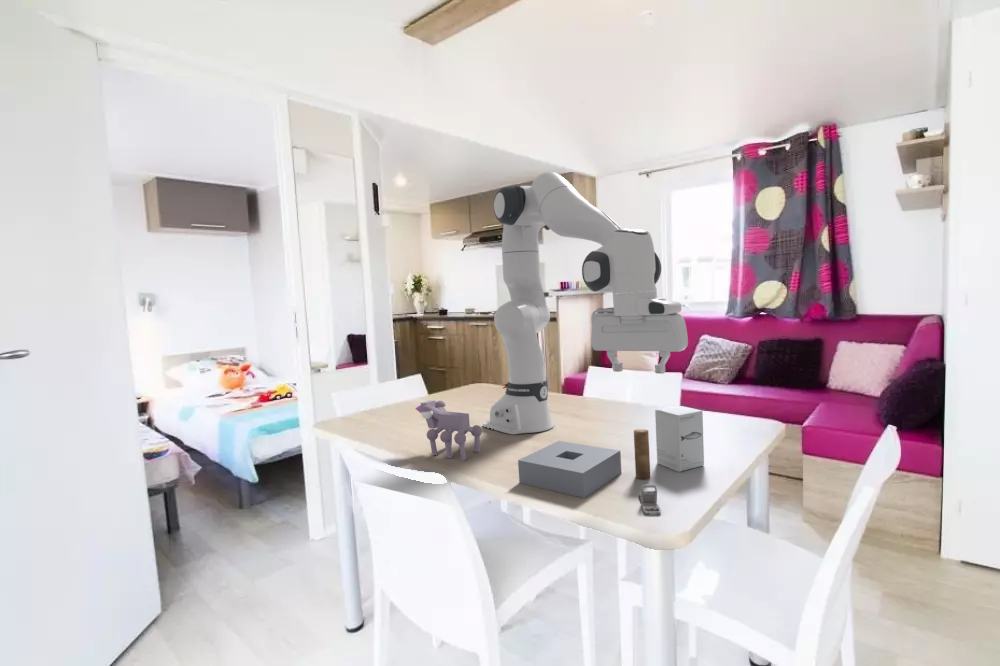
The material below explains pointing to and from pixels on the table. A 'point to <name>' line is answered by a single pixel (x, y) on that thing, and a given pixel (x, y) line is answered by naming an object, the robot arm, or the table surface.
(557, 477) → the hole block
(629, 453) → the table surface
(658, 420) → the supplement box
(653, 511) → the strap clip
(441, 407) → the toy sheep
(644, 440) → the walnut peg
